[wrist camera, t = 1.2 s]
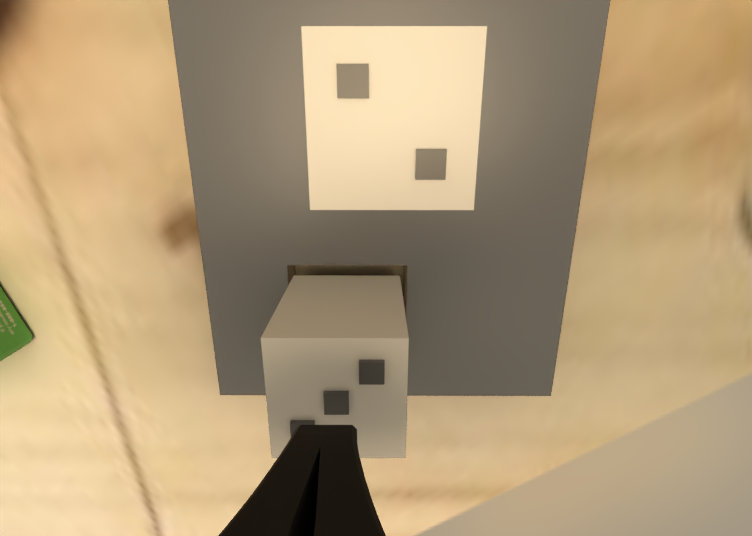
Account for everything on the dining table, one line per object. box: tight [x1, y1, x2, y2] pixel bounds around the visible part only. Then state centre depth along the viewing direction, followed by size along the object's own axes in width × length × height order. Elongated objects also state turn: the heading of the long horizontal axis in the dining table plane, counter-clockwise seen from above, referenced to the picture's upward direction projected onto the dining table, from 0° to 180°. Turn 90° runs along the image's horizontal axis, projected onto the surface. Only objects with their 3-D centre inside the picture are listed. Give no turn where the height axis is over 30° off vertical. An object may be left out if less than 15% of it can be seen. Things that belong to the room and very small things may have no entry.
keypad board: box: [168, 0, 610, 396], centre depth 16 cm, size 14×22×2 cm, turn 0°
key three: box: [261, 275, 409, 458], centre depth 15 cm, size 4×4×5 cm
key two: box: [301, 26, 487, 210], centre depth 12 cm, size 4×4×5 cm
